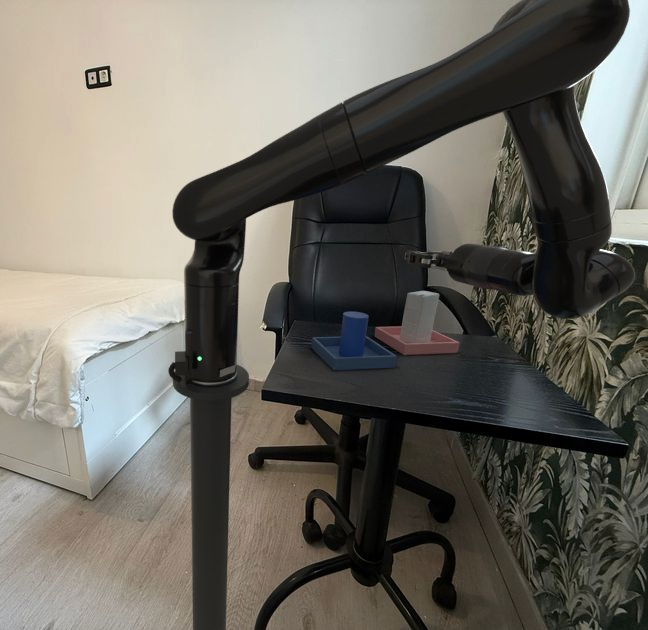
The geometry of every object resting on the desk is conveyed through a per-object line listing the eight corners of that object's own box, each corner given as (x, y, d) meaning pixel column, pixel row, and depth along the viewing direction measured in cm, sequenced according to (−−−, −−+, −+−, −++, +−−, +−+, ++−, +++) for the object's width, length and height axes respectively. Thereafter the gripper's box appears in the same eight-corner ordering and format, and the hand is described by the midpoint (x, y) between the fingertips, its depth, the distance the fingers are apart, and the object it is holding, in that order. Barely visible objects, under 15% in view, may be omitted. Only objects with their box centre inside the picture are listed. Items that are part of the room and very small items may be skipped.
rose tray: (403, 355, 78) (405, 344, 78) (374, 336, 90) (375, 327, 89) (457, 352, 80) (459, 342, 80) (421, 334, 92) (423, 325, 91)
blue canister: (345, 360, 74) (350, 318, 71) (334, 350, 79) (339, 311, 76) (367, 359, 75) (373, 317, 72) (356, 350, 79) (361, 311, 77)
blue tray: (333, 370, 70) (334, 358, 69) (311, 347, 82) (311, 337, 81) (395, 367, 72) (397, 356, 71) (364, 345, 83) (366, 335, 83)
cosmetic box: (413, 337, 88) (422, 289, 85) (431, 343, 84) (440, 293, 81) (397, 341, 85) (405, 292, 82) (415, 347, 82) (424, 296, 78)
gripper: (522, 246, 65) (455, 239, 80) (452, 245, 63) (397, 238, 78) (512, 286, 67) (449, 271, 82) (444, 286, 65) (392, 271, 80)
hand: (424, 255), depth 80 cm, fingers open, 8 cm apart
